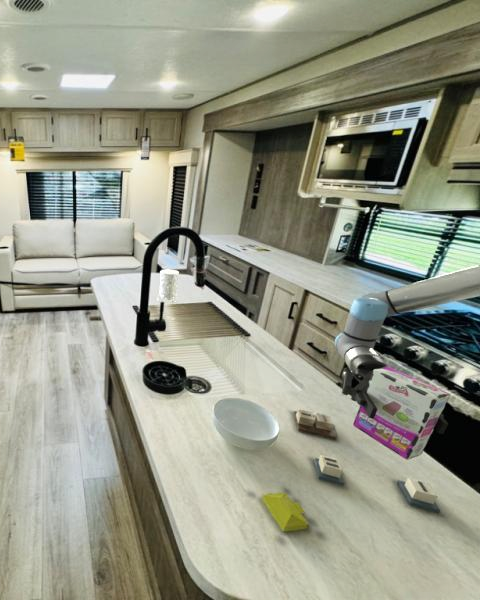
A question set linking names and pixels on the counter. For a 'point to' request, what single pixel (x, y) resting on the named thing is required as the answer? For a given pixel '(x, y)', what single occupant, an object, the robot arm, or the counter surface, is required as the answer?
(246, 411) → the cereal bowl
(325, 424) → the cream block pair
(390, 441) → the candy bar box
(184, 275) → the counter surface
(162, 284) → the decorative container
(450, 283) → the robot arm
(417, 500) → the cream blocks on trays
